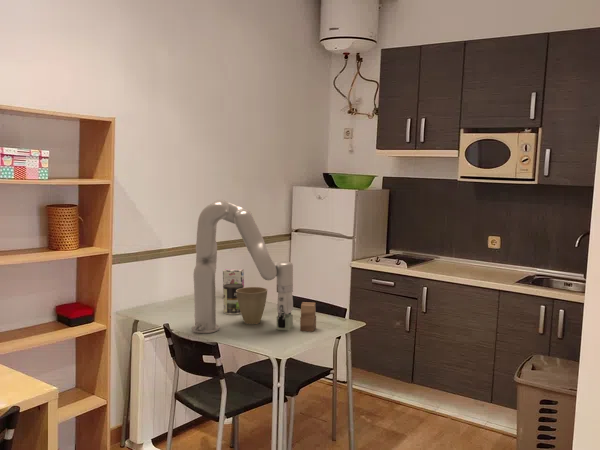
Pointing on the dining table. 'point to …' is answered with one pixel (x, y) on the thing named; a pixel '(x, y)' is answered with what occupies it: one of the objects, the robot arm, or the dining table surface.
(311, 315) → the tower block
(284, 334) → the dining table surface
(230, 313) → the coffee can
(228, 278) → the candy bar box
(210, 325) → the robot arm
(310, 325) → the tower base block
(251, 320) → the plant pot
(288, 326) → the sage block
